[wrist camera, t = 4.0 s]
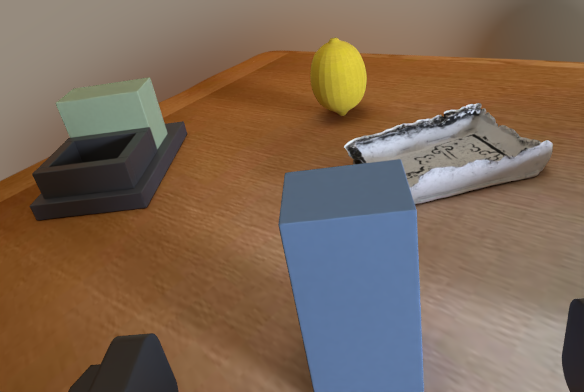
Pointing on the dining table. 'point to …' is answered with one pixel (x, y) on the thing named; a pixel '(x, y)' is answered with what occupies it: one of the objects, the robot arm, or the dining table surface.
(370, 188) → the blue rectangular block
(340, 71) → the lemon
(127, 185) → the seat frame
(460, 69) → the dining table surface
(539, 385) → the dining table surface
